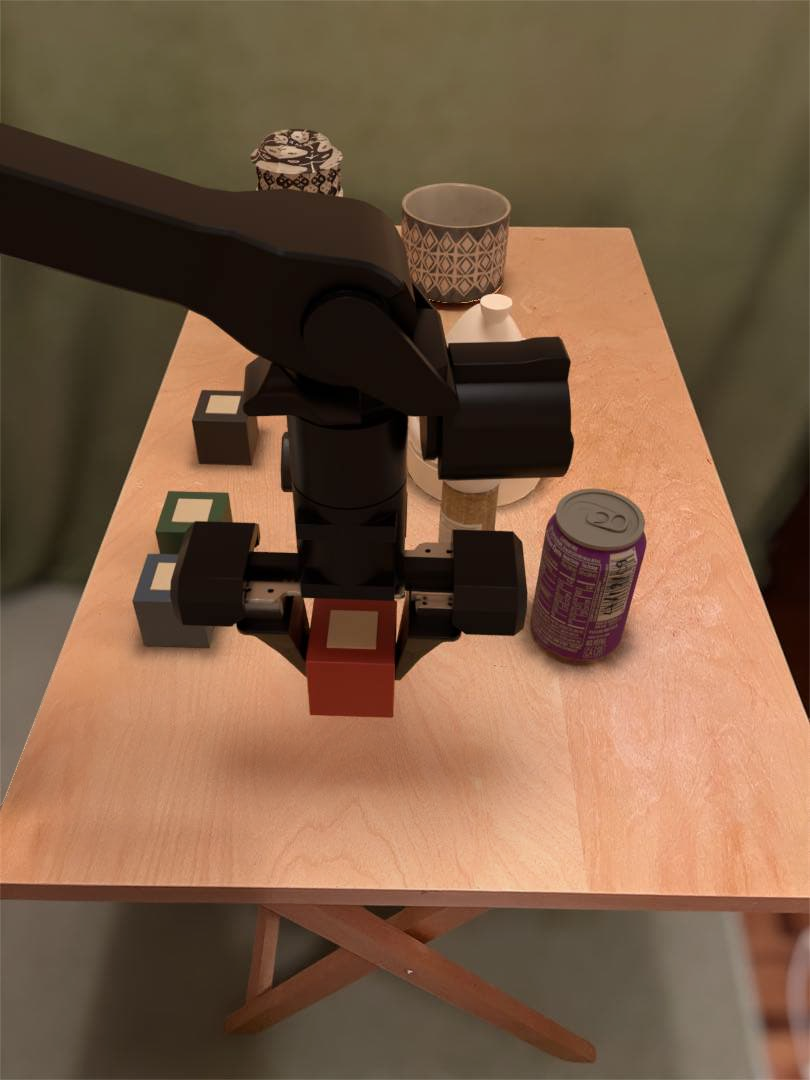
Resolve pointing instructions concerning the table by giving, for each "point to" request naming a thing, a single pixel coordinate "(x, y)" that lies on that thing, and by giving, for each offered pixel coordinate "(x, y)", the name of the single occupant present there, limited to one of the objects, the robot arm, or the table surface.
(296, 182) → the decorative candle
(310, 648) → the red cube
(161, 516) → the green block
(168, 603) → the slate block
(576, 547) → the beverage can
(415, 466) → the honey pot
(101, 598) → the table surface
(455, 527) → the sprinkles bottle
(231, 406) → the charcoal block
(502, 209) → the planter
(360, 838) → the table surface
